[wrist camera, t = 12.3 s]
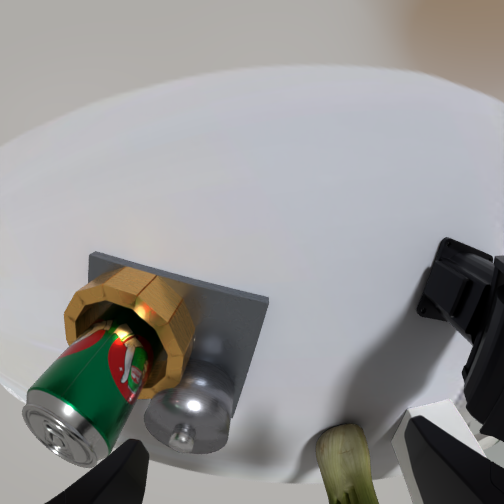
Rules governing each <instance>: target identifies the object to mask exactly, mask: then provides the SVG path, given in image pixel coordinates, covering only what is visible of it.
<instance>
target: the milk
mask: <svg viewBox="0 0 504 504" xmlns="http://www.w3.org/2000/svg"><path fill="white" fill-rule="evenodd" d="M418 415H422V416H424V417H425V418H427V419H428V420H429V421H431V422H432V423H434V424H435V425H437V426H438V427H440V428H441V429H443V430H444V431H446V432H447V433H449V434H450V435H452V436H453V437H455V438H456V439H458V440H459V441H461V442H462V443H464V444H466V445H467V446H469V447H470V448H472V449H473V450H475V451H476V452H478V453H479V454H481V455H483V456H484V457H486V455H485V454H484V452H483V450H482V449H481V447H480V445H479V444H478V442H477V440H476V439H475V437H474V435H473V434H472V432H471V430H470V429H469V427H468V426H467V424H466V422H465V421H464V419H463V418H462V416H461V415H460V413H459V412H458V410H457V409H456V407H455V405H454V404H453V402H452V401H451V400H450V399H446V400H443V401H439V402H435V403H431V404H427V405H422V406H418V407H413V408H408V409H407V411H406V413H405V415H404V417H403V419H402V421H401V423H400V425H399V427H398V429H397V431H396V433H395V435H394V437H393V439H392V441H391V443H392V446H393V449H394V451H395V454H396V457H397V459H398V462H399V465H400V467H401V470H402V473H403V476H404V479H405V481H406V484H407V487H408V490H409V493H410V496H411V499H412V502H413V504H423V501H422V498H421V495H420V492H419V489H418V486H417V483H416V481H415V478H414V475H413V472H412V468H411V463H410V459H409V455H408V450H407V446H406V442H405V438H404V432H405V429H406V427H407V424H408V421H409V419H410V418H412V417H415V416H418ZM486 458H487V457H486Z"/></svg>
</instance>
